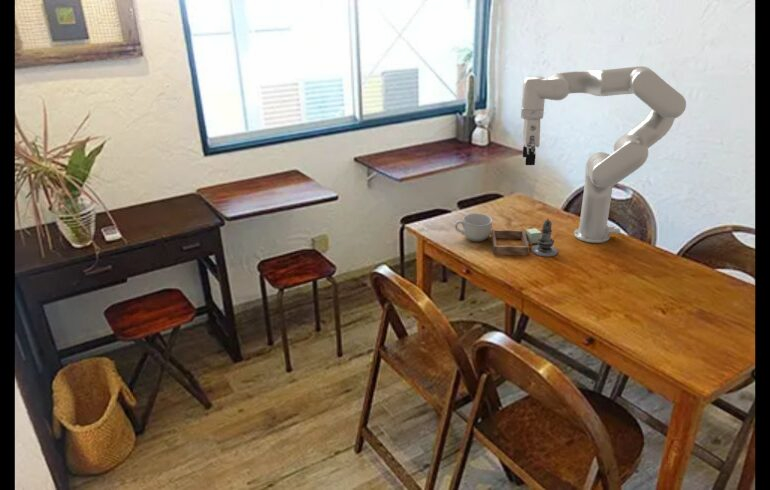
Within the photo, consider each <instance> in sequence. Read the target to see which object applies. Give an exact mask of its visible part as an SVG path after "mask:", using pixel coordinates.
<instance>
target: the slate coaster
mask: <svg viewBox="0 0 770 490" xmlns="http://www.w3.org/2000/svg"><path fill="white" fill-rule="evenodd" d="M538 247H540V246H539V245H538V244H536V245H535V244H534V245H533V246H532V247H531V249H530V251H531V253H532V254H533V255H536V256H538V257H543V258H544V257H545V258H551V257H554V256H557V255H558V252H559V251H558V249H557V247H555V246H553V245H552V246H551V247H550V248H552V250H553V251H552V252H550V253H543V252H540V251H538V250H537V248H538Z"/></svg>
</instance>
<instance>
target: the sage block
mask: <svg viewBox="0 0 770 490" xmlns="http://www.w3.org/2000/svg"><path fill="white" fill-rule="evenodd" d="M525 234H526V238H527V242H528V244H536V243H537V244H538V241H537V239H538V238H540V237H541V236H542V231H540V230H539V229H537V228H529V229H526V230H525Z"/></svg>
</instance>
